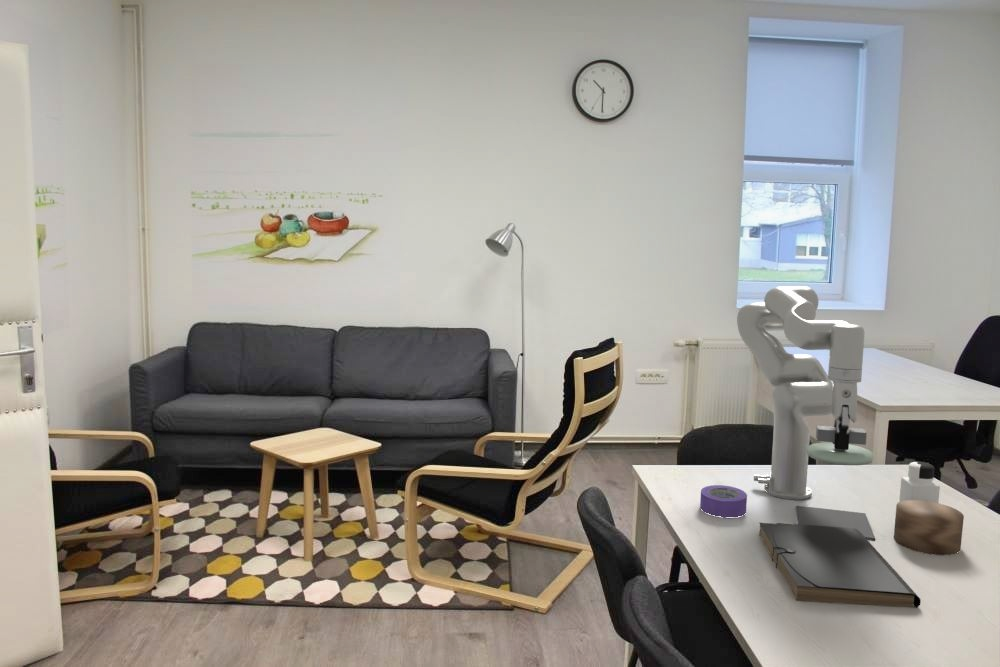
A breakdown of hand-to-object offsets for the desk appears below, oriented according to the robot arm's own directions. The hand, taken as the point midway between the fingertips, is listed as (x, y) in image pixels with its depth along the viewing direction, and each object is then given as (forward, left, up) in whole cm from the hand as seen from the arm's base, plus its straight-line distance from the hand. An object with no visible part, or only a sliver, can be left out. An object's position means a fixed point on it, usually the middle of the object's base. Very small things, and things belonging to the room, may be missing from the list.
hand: (840, 445), depth 192 cm
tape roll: (-27, 0, -21) cm, 34 cm away
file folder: (-4, -28, -21) cm, 35 cm away
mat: (0, 0, -20) cm, 20 cm away
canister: (+20, -6, -20) cm, 29 cm away
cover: (0, 0, -3) cm, 3 cm away
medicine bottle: (+23, +20, -21) cm, 37 cm away
